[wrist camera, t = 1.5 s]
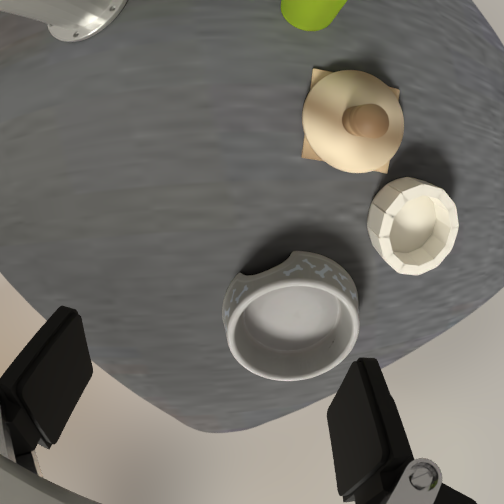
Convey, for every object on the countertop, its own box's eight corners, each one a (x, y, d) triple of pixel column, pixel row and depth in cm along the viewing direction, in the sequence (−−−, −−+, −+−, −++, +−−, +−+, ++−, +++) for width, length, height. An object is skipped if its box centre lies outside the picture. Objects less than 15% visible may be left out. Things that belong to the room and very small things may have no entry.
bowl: (377, 169, 31) (392, 176, 27) (447, 186, 31) (467, 196, 27) (358, 253, 35) (369, 270, 31) (426, 262, 35) (441, 277, 31)
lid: (308, 62, 26) (318, 48, 21) (404, 86, 26) (431, 81, 21) (295, 162, 31) (302, 170, 25) (390, 179, 31) (414, 192, 25)
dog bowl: (369, 332, 41) (380, 357, 36) (255, 372, 44) (254, 398, 39) (336, 230, 35) (347, 248, 30) (199, 286, 38) (190, 310, 33)
